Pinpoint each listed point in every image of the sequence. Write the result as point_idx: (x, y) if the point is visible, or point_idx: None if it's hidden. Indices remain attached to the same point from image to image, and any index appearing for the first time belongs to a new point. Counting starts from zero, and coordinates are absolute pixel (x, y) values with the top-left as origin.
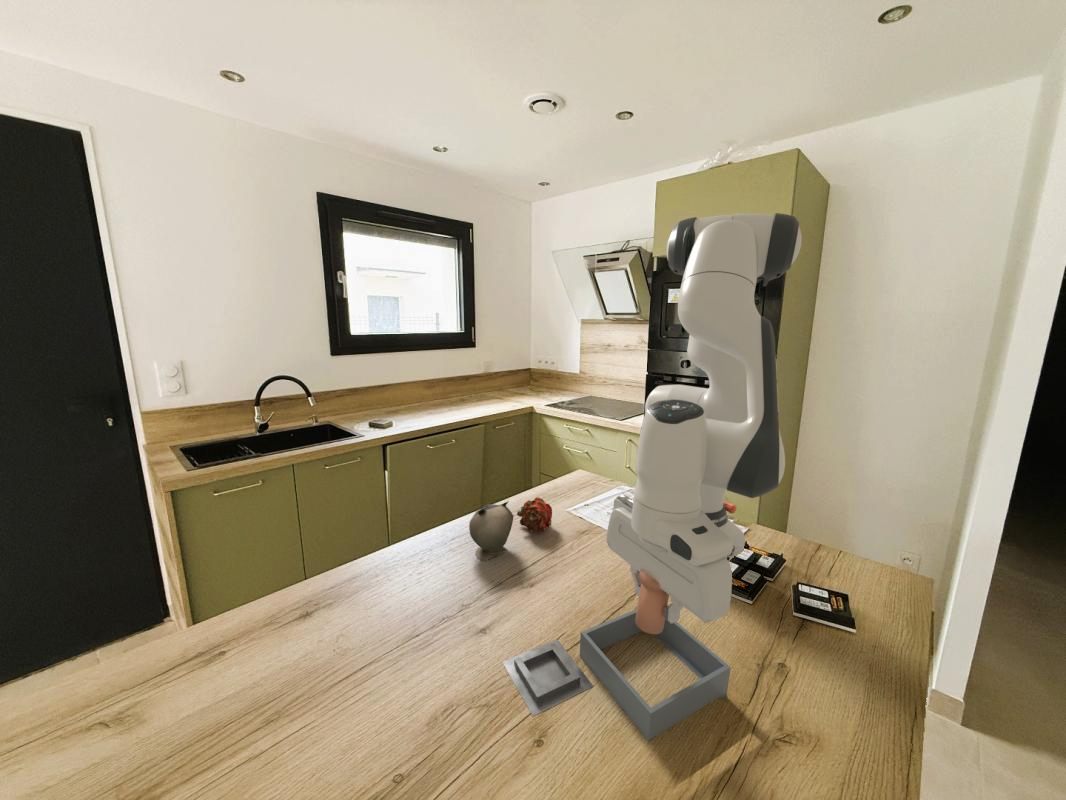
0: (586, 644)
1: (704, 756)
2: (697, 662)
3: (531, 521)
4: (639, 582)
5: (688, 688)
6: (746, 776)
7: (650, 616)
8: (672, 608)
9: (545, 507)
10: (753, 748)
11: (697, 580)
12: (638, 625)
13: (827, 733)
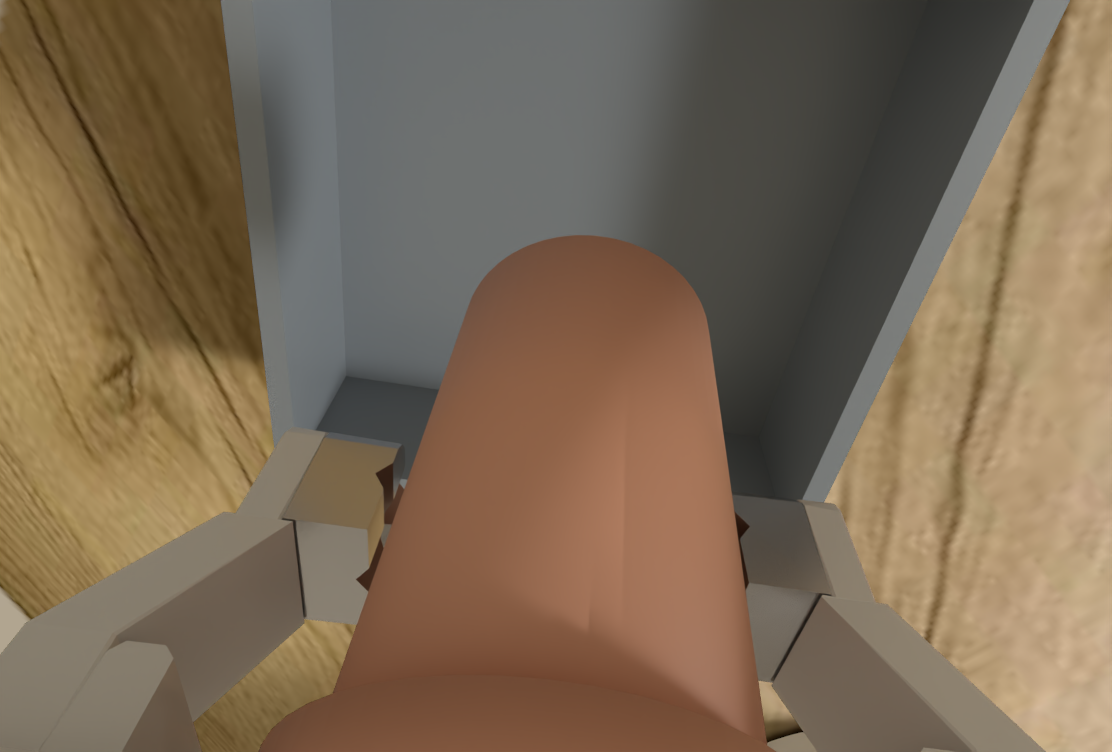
0: None
1: (160, 54)
2: None
3: None
4: (830, 641)
5: (260, 207)
6: (38, 129)
7: (484, 357)
8: (173, 567)
9: None
10: (126, 260)
11: None
12: (612, 246)
13: (98, 488)
